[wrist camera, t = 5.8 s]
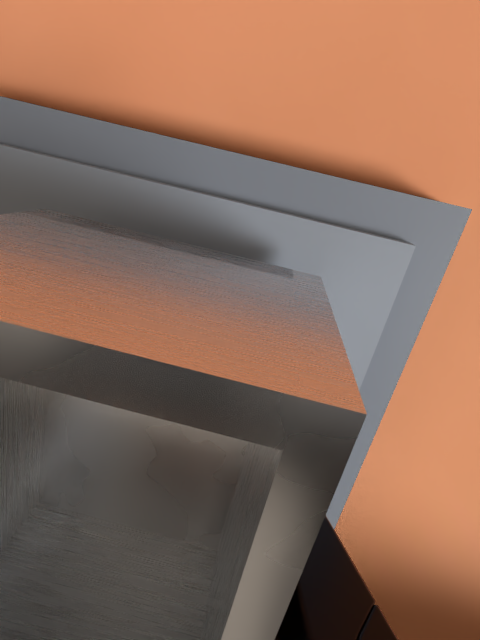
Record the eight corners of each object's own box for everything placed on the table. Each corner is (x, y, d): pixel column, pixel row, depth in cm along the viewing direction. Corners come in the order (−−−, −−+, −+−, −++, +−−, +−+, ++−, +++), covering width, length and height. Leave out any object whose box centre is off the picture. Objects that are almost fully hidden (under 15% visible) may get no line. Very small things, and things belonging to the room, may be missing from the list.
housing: (320, 276, 8) (367, 414, 3) (238, 544, 11) (201, 817, 6) (44, 208, 8) (-272, 251, 4) (34, 490, 11) (-147, 717, 6)
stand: (444, 204, 10) (480, 211, 8) (312, 531, 14) (316, 584, 13) (2, 98, 10) (-61, 81, 8) (3, 450, 15) (-37, 490, 13)
